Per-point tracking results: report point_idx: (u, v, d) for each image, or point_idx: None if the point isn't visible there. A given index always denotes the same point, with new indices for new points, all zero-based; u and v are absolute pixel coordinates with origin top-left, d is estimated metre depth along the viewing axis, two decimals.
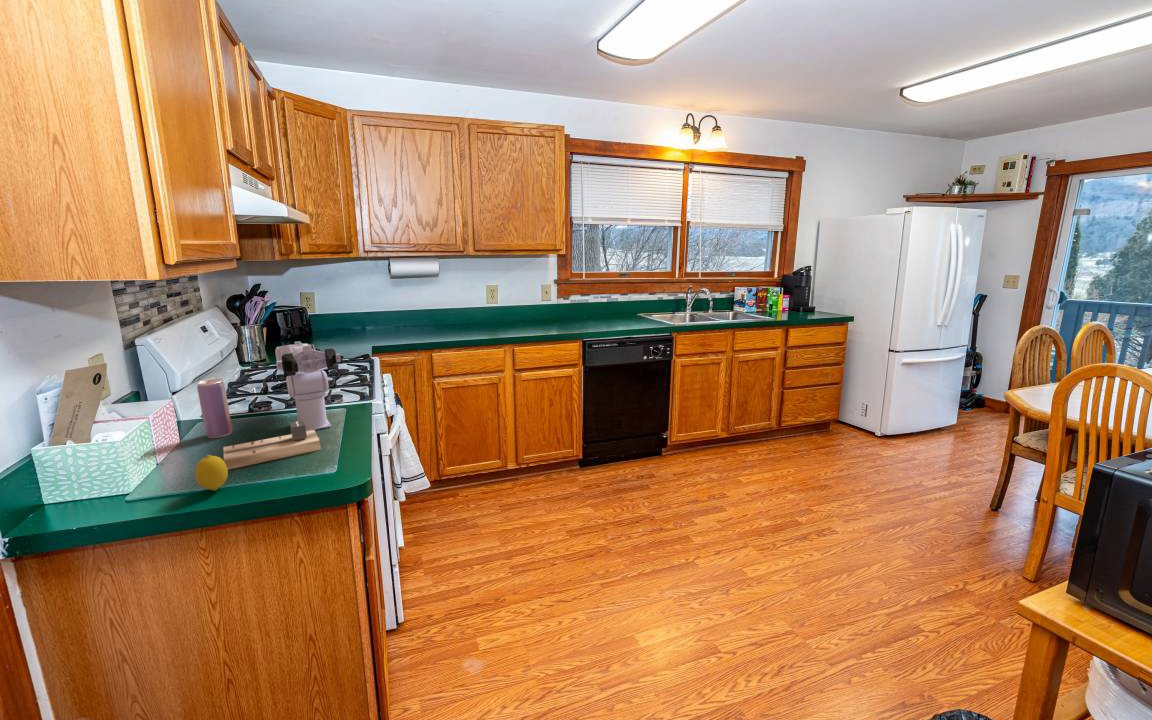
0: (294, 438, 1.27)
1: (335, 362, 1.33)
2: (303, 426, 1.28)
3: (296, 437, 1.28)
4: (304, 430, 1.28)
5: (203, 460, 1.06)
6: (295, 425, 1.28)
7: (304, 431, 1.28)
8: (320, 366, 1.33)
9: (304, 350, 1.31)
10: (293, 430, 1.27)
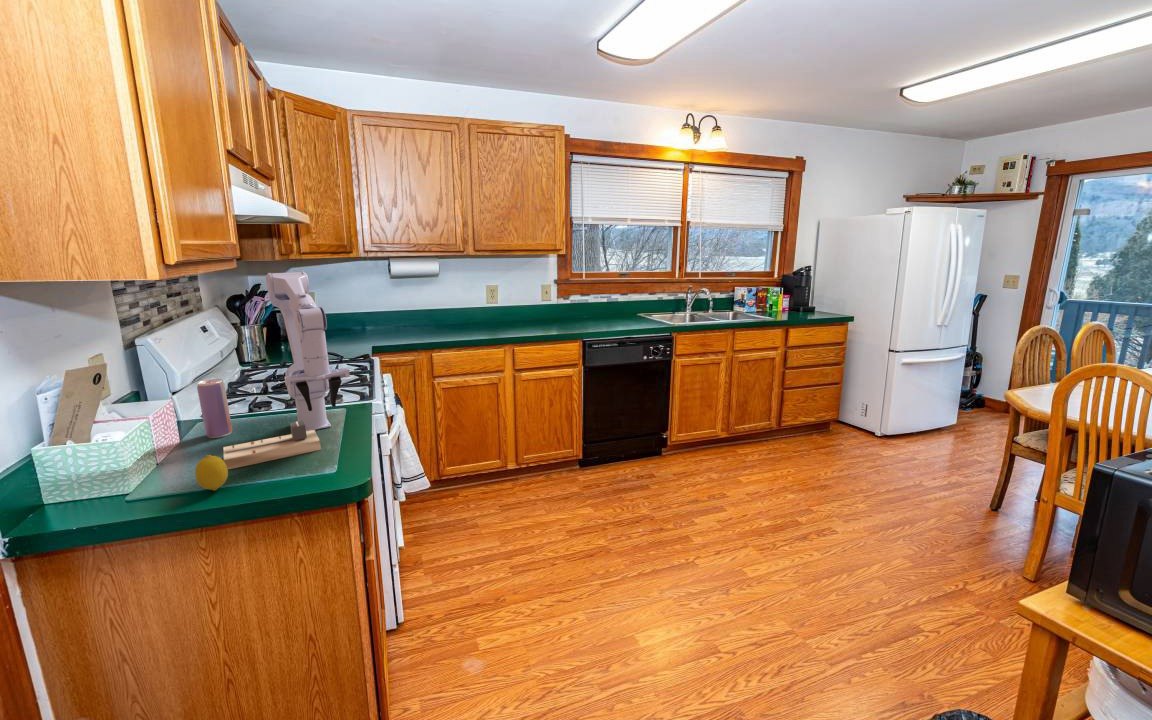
0: (294, 438, 1.27)
1: None
2: (303, 426, 1.28)
3: (296, 437, 1.28)
4: (304, 430, 1.28)
5: (203, 460, 1.06)
6: (295, 425, 1.28)
7: (304, 431, 1.28)
8: None
9: (316, 379, 1.27)
10: (293, 430, 1.27)
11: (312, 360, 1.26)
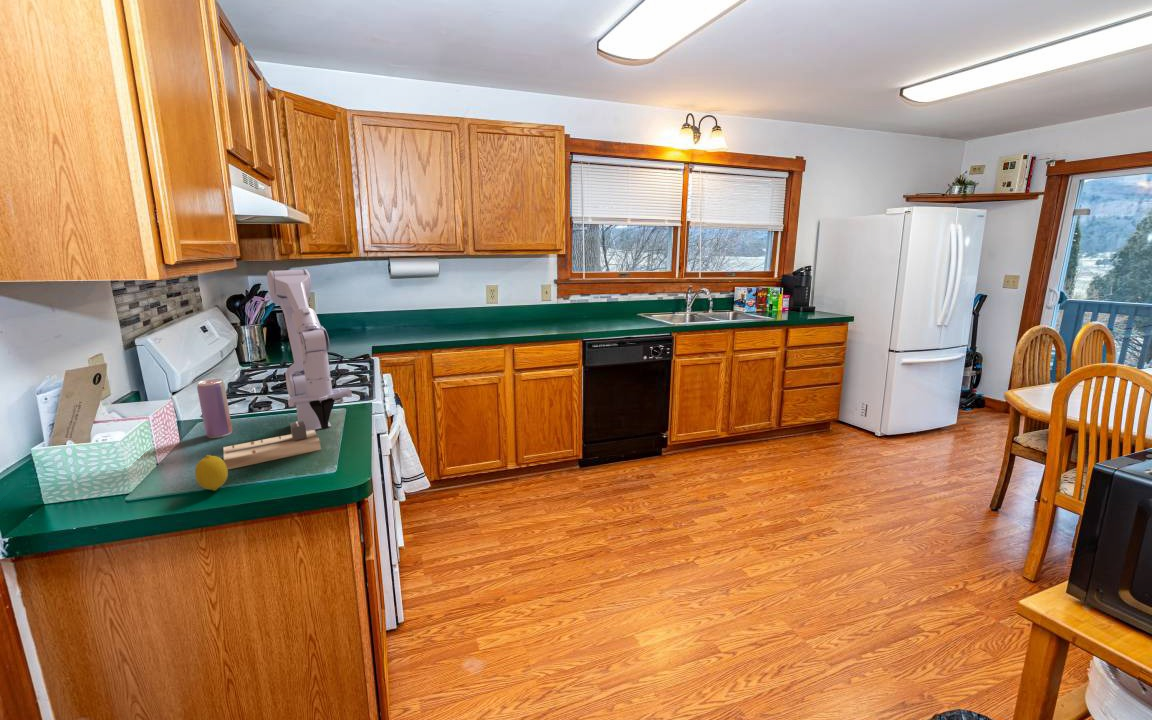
0: (294, 438, 1.27)
1: None
2: (303, 426, 1.28)
3: (296, 437, 1.28)
4: (304, 430, 1.28)
5: (203, 460, 1.06)
6: (295, 425, 1.28)
7: (304, 431, 1.28)
8: None
9: (319, 399, 1.28)
10: (293, 430, 1.27)
11: (315, 381, 1.27)
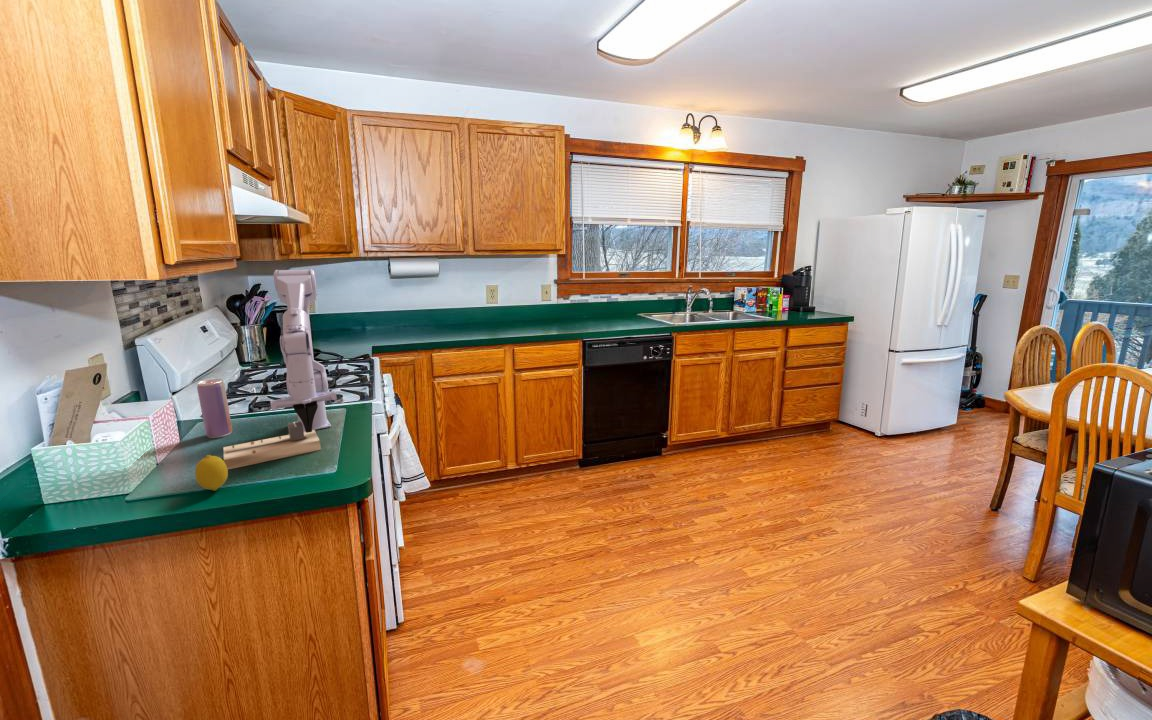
0: (291, 439, 1.27)
1: None
2: (300, 426, 1.28)
3: (293, 437, 1.27)
4: (301, 430, 1.28)
5: (203, 460, 1.06)
6: (292, 425, 1.28)
7: (302, 431, 1.28)
8: None
9: None
10: (290, 430, 1.27)
11: (298, 384, 1.25)
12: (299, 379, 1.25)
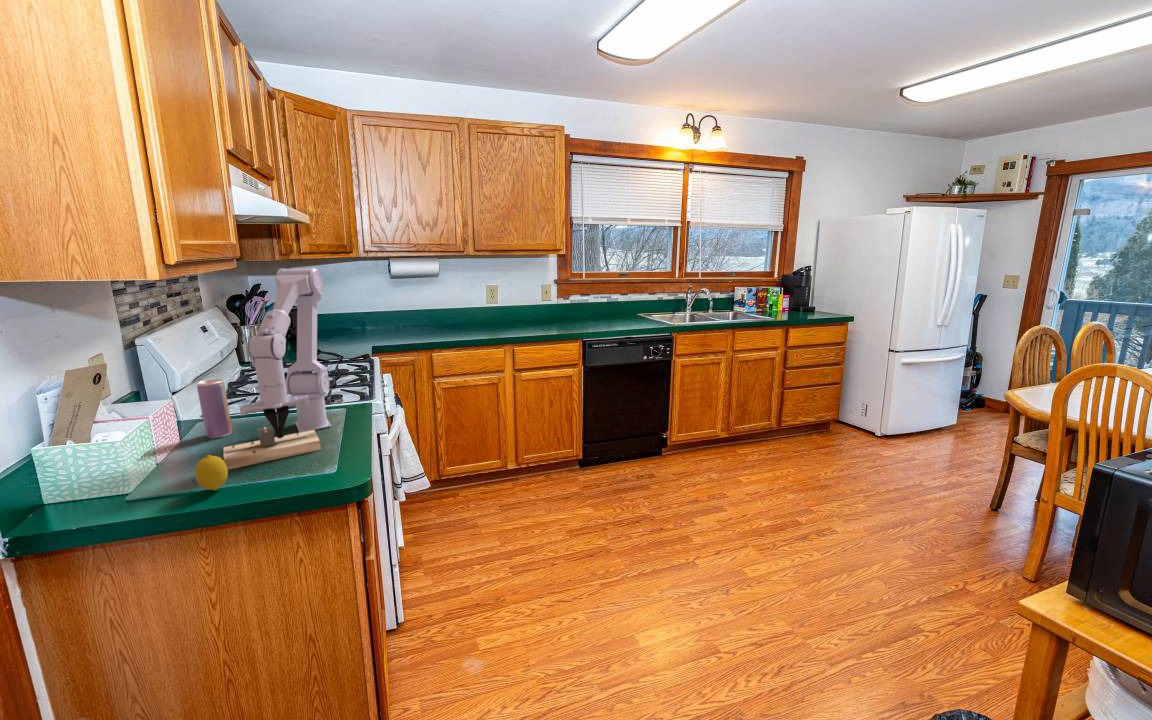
0: (262, 444, 1.24)
1: None
2: (271, 432, 1.24)
3: (264, 443, 1.24)
4: (272, 436, 1.25)
5: (203, 460, 1.06)
6: (263, 431, 1.24)
7: (272, 437, 1.25)
8: None
9: None
10: (260, 436, 1.23)
11: (268, 388, 1.22)
12: (264, 384, 1.21)
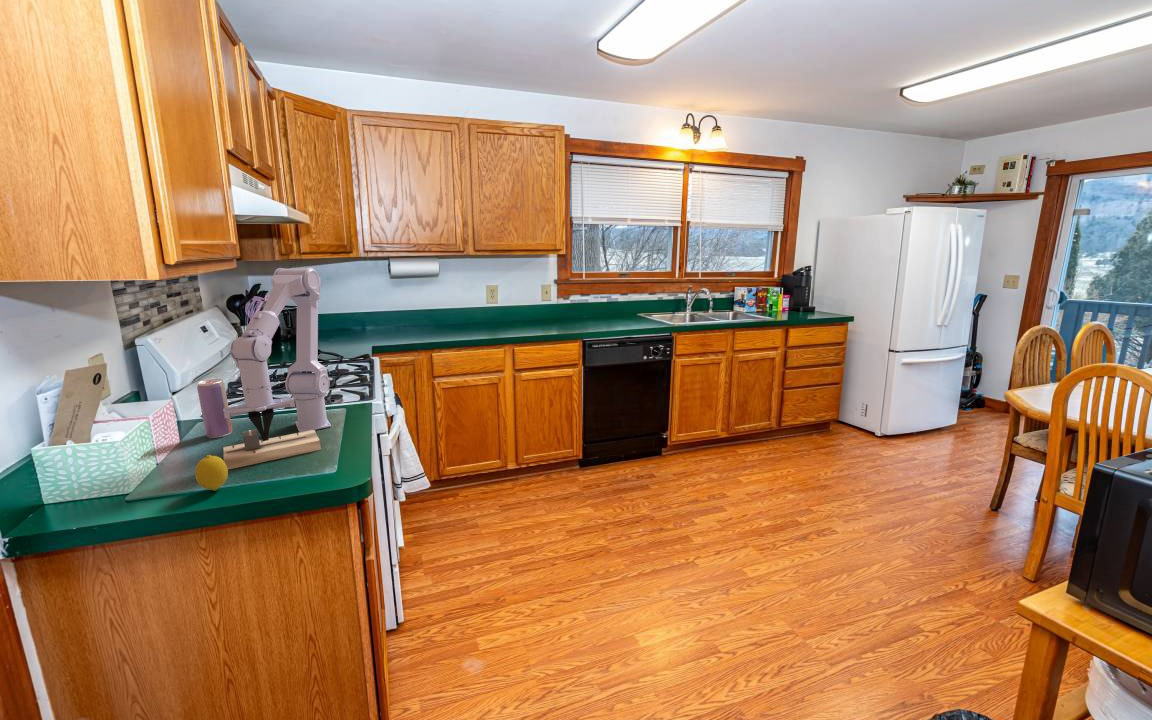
0: (246, 448, 1.22)
1: None
2: (256, 435, 1.23)
3: (248, 446, 1.22)
4: (257, 439, 1.23)
5: (203, 460, 1.06)
6: (247, 434, 1.23)
7: (257, 440, 1.23)
8: None
9: (257, 410, 1.21)
10: (245, 439, 1.21)
11: (252, 391, 1.20)
12: (247, 386, 1.19)
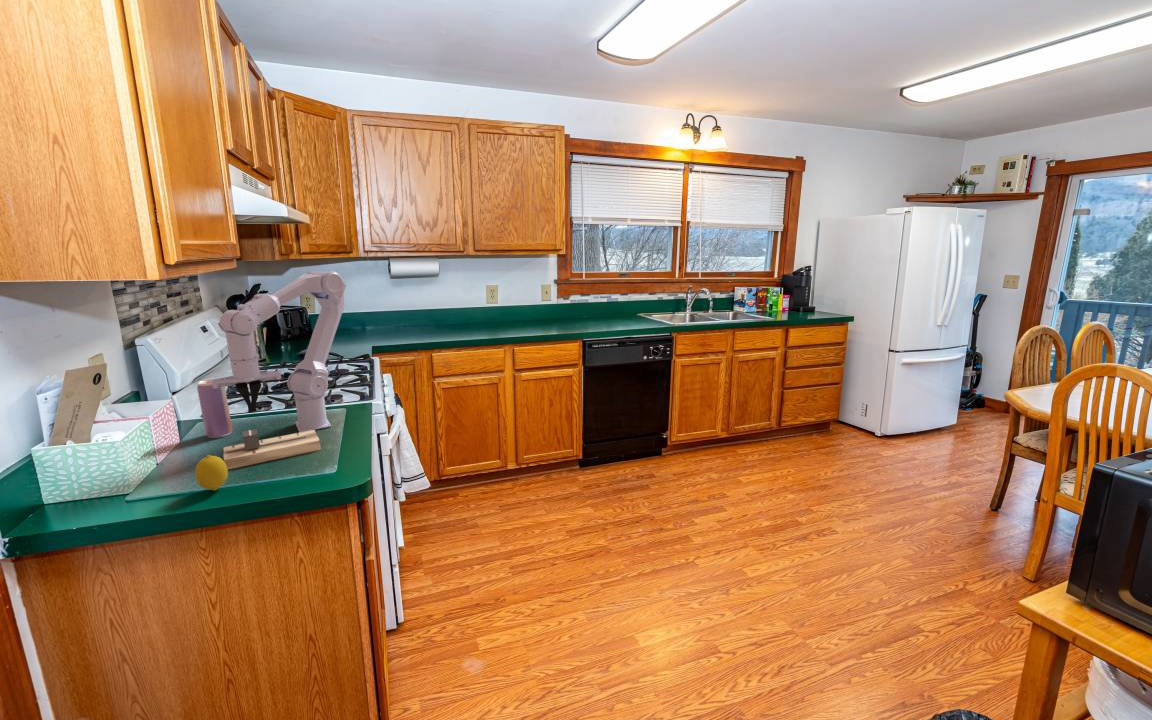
0: (246, 448, 1.22)
1: None
2: (256, 435, 1.23)
3: (248, 446, 1.22)
4: (257, 439, 1.23)
5: (203, 460, 1.06)
6: (247, 434, 1.23)
7: (257, 440, 1.23)
8: None
9: (244, 381, 1.25)
10: (245, 439, 1.21)
11: (239, 362, 1.24)
12: (230, 357, 1.24)
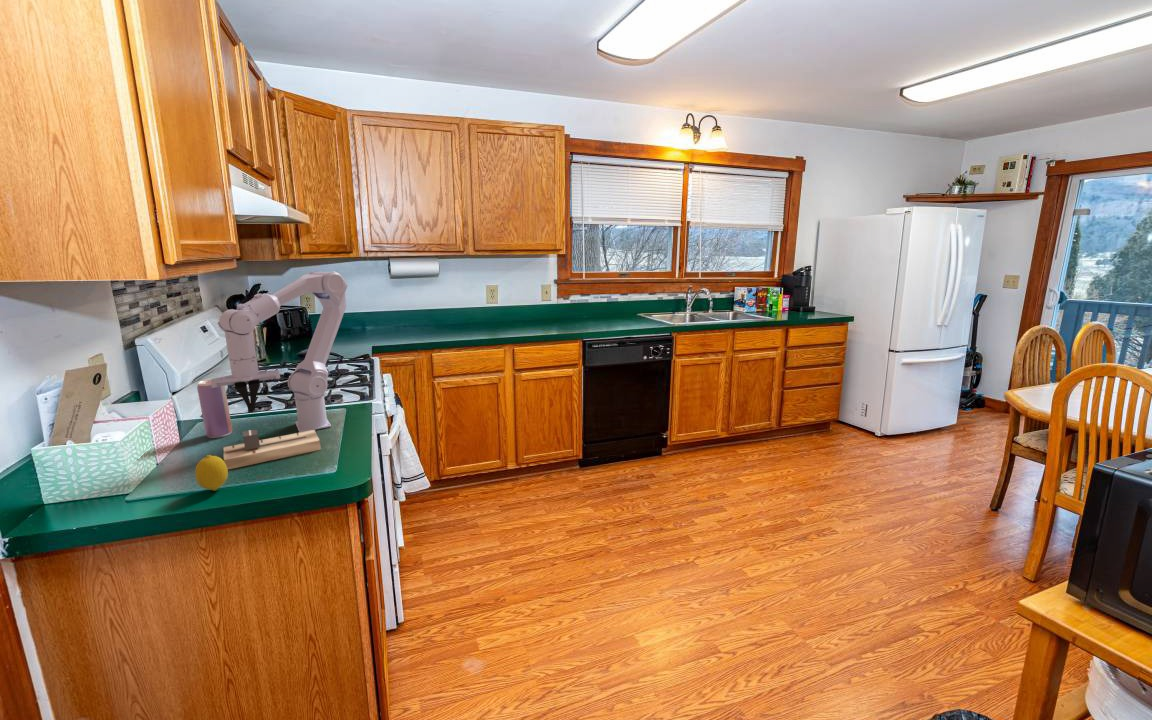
0: (246, 448, 1.22)
1: None
2: (256, 435, 1.23)
3: (248, 446, 1.22)
4: (257, 439, 1.23)
5: (203, 460, 1.06)
6: (247, 434, 1.23)
7: (257, 440, 1.23)
8: None
9: (243, 380, 1.26)
10: (245, 439, 1.21)
11: (238, 362, 1.25)
12: (229, 356, 1.25)
